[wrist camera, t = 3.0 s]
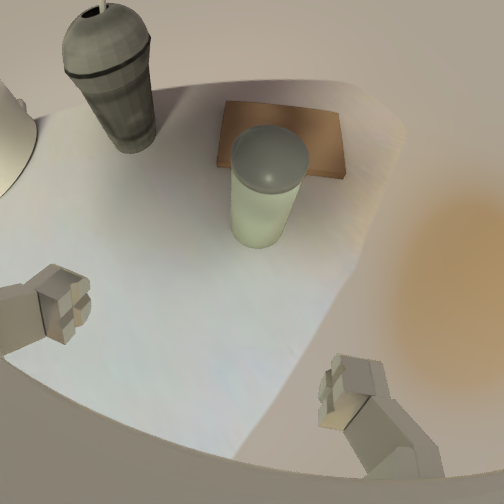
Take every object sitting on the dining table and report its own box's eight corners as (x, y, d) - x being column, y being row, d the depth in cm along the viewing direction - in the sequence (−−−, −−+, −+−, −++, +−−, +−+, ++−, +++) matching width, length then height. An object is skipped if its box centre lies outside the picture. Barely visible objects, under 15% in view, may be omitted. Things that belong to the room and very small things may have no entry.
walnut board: (217, 166, 29) (216, 160, 28) (225, 107, 32) (226, 100, 31) (342, 179, 30) (346, 173, 29) (335, 119, 32) (338, 113, 31)
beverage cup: (111, 113, 31) (60, -41, 12) (174, 109, 31) (149, -63, 12) (95, 166, 28) (10, -1, 10) (163, 164, 29) (115, -34, 10)
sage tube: (228, 247, 27) (227, 184, 17) (232, 198, 28) (234, 121, 19) (283, 251, 27) (310, 191, 17) (284, 202, 28) (308, 129, 19)
